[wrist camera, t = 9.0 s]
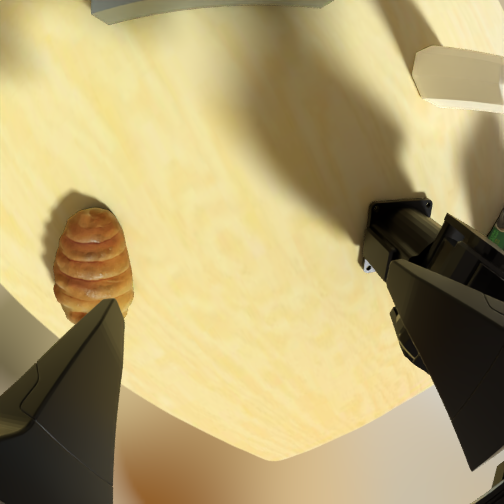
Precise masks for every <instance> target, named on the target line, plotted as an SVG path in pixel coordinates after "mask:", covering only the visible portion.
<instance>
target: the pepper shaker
mask: <svg viewBox="0 0 504 504" xmlns="http://www.w3.org/2000/svg"><path fill="white" fill-rule="evenodd" d="M412 77H413V79H414V81H415V84H416V86H417V88H418V91H419V93H420V96H421V98H422V99H424V100H426V101H428V102H430V103H432V104H434V105H435V106H437V107H439V108H454V109H467V110H478V111H487V112H496V113H503V114H504V57H502V56H498V55H493V54H488V53H483V52H478V51H472V50H466V49H459V48H452V47H444V46H435V45H432V46H430V47H427V48H425V49H423V50H420V51H418V52H416V56H415V61H414V66H413V71H412Z"/></svg>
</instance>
